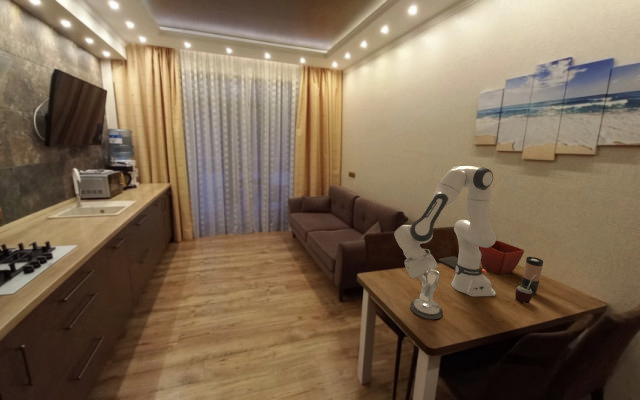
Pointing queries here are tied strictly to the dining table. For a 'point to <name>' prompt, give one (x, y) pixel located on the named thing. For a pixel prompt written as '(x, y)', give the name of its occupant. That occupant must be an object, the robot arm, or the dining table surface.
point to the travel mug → (532, 273)
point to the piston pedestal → (426, 309)
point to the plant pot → (500, 257)
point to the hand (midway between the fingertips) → (431, 281)
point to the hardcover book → (449, 261)
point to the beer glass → (429, 285)
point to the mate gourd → (524, 293)
